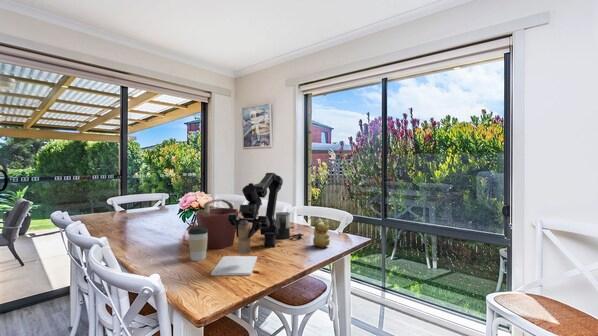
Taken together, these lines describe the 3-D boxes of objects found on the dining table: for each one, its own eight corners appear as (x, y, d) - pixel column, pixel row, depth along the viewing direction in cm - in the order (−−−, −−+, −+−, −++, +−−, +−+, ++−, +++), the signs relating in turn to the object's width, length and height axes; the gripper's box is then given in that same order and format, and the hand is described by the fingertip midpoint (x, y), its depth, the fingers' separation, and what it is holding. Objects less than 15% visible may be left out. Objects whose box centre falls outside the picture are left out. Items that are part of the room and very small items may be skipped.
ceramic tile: (223, 258, 134) (223, 256, 134) (257, 258, 134) (257, 256, 134) (210, 275, 114) (210, 272, 114) (250, 275, 114) (250, 272, 114)
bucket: (210, 254, 139) (210, 204, 139) (185, 246, 152) (185, 200, 152) (247, 243, 159) (247, 199, 158) (222, 236, 172) (222, 195, 171)
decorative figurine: (332, 246, 153) (332, 218, 153) (325, 250, 146) (325, 221, 146) (316, 243, 158) (316, 217, 158) (309, 247, 151) (309, 219, 151)
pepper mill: (244, 249, 126) (244, 218, 126) (252, 252, 123) (252, 219, 123) (235, 253, 122) (235, 220, 121) (244, 255, 119) (244, 221, 118)
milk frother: (273, 236, 174) (273, 212, 173) (296, 233, 180) (296, 210, 180) (281, 242, 161) (281, 216, 160) (305, 239, 167) (306, 214, 167)
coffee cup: (188, 256, 136) (188, 225, 136) (207, 254, 139) (207, 224, 139) (187, 262, 128) (187, 229, 127) (208, 260, 131) (208, 228, 131)
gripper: (228, 196, 128) (216, 226, 117) (267, 198, 123) (258, 229, 113) (236, 210, 136) (225, 239, 125) (273, 212, 131) (265, 242, 121)
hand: (242, 237), depth 121 cm, fingers closed on pepper mill, 5 cm apart
